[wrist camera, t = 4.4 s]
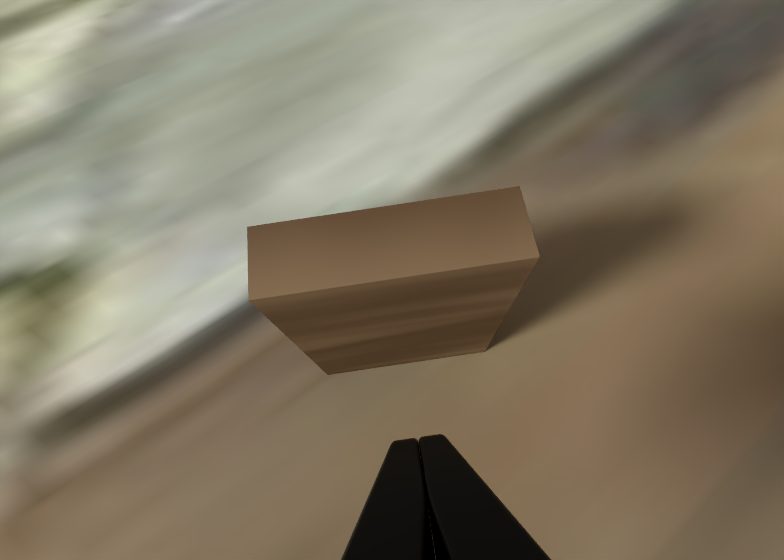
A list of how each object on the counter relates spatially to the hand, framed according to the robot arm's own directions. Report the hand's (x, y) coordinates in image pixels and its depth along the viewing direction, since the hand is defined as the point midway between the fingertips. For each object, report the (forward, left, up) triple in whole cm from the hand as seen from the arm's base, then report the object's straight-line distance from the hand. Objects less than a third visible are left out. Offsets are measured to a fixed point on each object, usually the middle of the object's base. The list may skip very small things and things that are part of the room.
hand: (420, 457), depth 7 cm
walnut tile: (+4, +3, -12) cm, 13 cm away
